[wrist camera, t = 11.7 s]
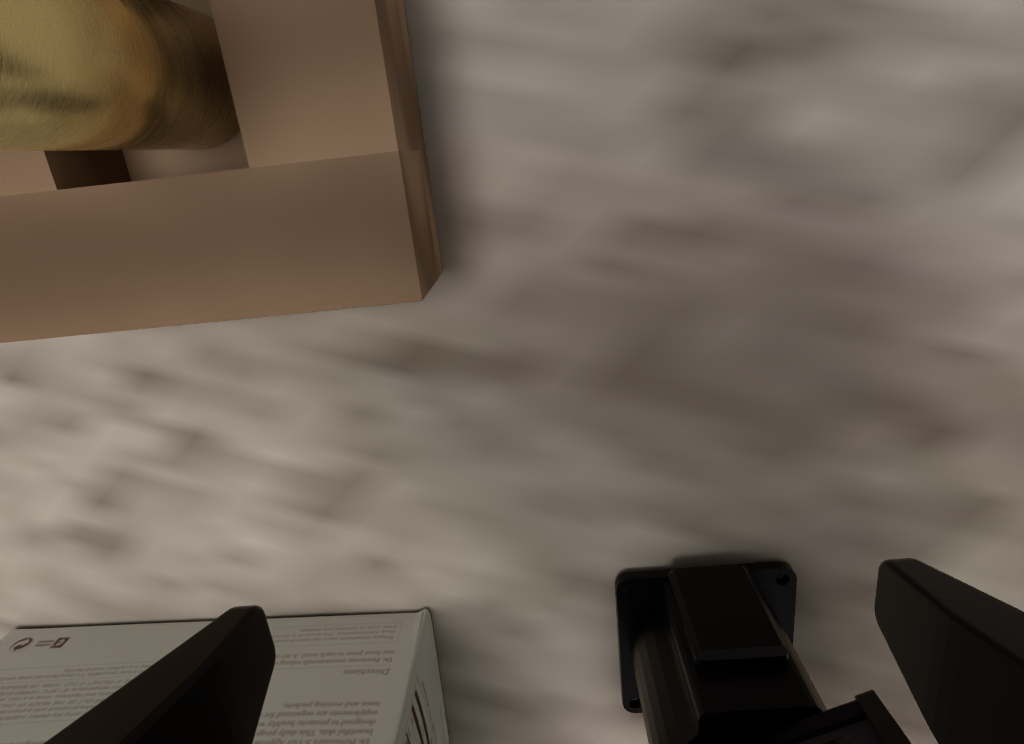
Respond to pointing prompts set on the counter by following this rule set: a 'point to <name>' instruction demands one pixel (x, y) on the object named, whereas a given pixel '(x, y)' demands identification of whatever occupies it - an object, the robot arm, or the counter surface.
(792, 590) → the robot arm
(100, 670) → the supplement box
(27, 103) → the brass pin
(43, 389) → the counter surface
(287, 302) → the walnut socket block
